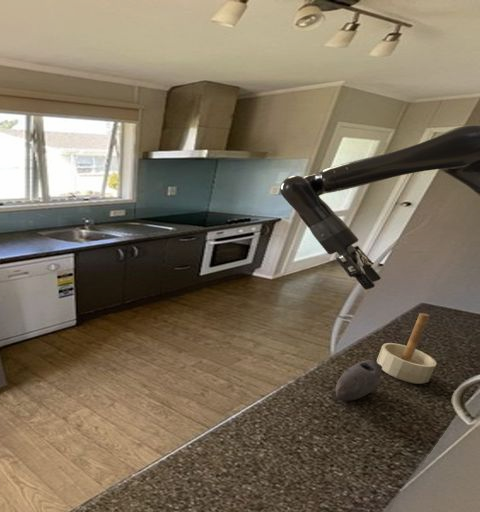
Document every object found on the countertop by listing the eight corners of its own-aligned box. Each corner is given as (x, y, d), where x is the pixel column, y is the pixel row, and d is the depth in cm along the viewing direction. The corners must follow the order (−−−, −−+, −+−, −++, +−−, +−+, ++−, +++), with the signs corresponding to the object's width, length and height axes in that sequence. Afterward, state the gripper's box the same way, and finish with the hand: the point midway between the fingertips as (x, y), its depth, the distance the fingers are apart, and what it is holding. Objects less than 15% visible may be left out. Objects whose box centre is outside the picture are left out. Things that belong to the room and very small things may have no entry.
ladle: (397, 365, 76) (418, 311, 71) (408, 370, 74) (431, 315, 69) (393, 371, 74) (415, 316, 69) (405, 376, 72) (429, 320, 67)
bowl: (421, 369, 76) (429, 351, 74) (433, 391, 69) (442, 372, 67) (373, 355, 81) (379, 338, 80) (379, 374, 74) (386, 356, 72)
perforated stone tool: (347, 411, 62) (356, 386, 60) (321, 394, 67) (329, 370, 65) (383, 391, 68) (392, 367, 66) (356, 377, 73) (365, 354, 71)
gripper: (340, 229, 74) (386, 284, 69) (353, 223, 82) (395, 272, 77) (310, 244, 79) (351, 296, 74) (325, 237, 88) (363, 283, 83)
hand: (373, 284), depth 76 cm, fingers open, 8 cm apart
